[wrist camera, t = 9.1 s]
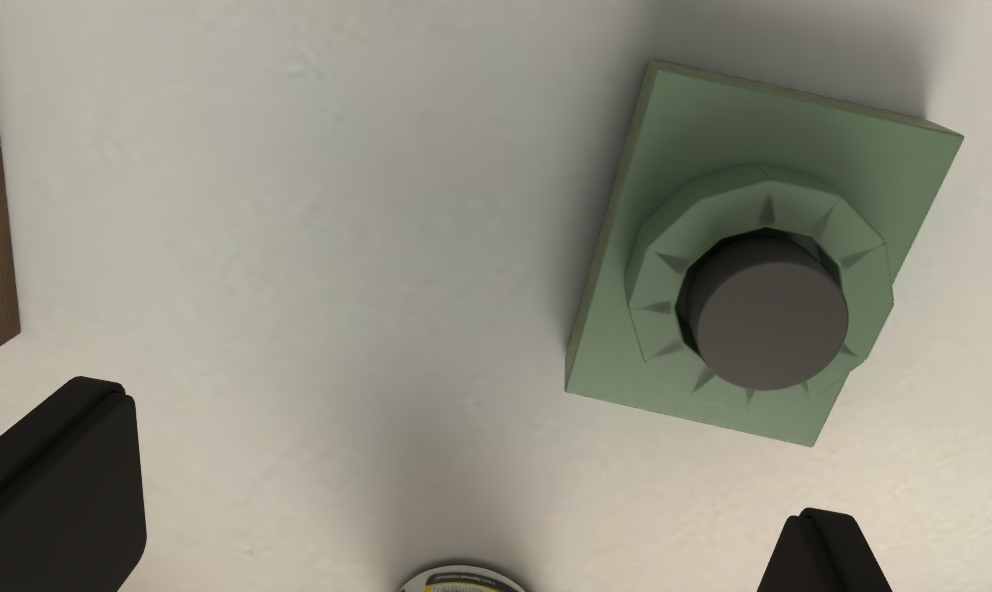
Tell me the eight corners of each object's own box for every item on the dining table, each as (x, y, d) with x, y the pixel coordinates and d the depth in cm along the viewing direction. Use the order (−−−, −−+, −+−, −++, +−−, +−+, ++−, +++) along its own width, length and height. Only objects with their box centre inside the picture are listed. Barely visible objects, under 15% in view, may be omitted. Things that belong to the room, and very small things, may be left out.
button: (710, 221, 18) (723, 245, 16) (848, 251, 18) (875, 279, 16) (668, 341, 20) (676, 374, 18) (795, 370, 20) (815, 405, 18)
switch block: (649, 57, 20) (665, 77, 16) (927, 119, 20) (1006, 152, 16) (564, 358, 24) (563, 426, 21) (793, 409, 24) (832, 487, 21)
